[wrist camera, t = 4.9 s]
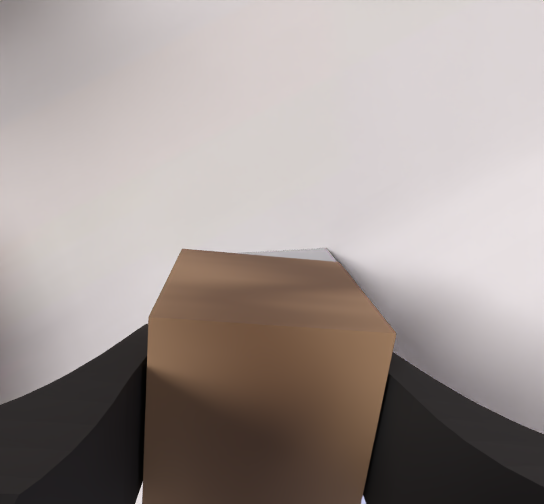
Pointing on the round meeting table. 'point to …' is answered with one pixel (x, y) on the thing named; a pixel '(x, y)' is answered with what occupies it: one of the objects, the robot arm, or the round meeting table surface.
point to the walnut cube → (261, 382)
